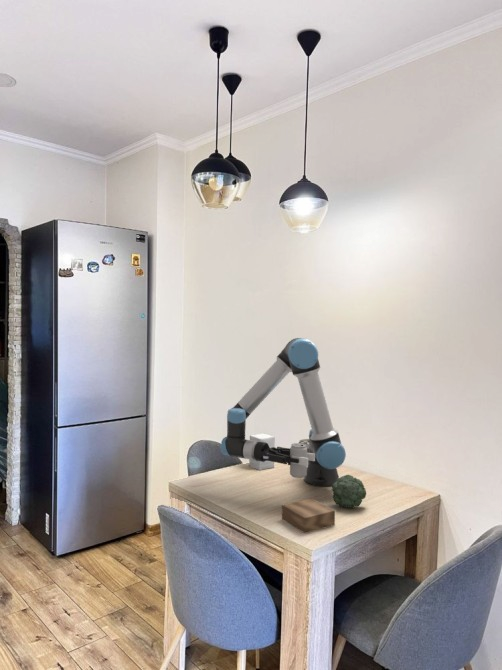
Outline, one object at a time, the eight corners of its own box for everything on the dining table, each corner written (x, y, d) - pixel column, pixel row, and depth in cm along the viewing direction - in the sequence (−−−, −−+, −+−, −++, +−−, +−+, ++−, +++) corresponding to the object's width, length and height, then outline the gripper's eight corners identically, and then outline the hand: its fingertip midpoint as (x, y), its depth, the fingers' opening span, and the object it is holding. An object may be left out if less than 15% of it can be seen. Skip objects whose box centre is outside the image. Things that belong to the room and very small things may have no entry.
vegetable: (368, 493, 190) (373, 488, 176) (347, 518, 187) (351, 515, 173) (344, 472, 194) (347, 465, 180) (323, 496, 191) (325, 491, 177)
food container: (296, 457, 248) (297, 438, 247) (308, 457, 247) (309, 438, 247) (298, 464, 235) (298, 444, 235) (311, 464, 235) (311, 444, 235)
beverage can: (305, 479, 179) (306, 447, 179) (288, 477, 180) (289, 446, 180) (307, 474, 185) (308, 443, 185) (290, 472, 186) (291, 442, 186)
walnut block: (310, 512, 176) (311, 498, 175) (334, 525, 165) (334, 510, 164) (281, 519, 169) (282, 505, 169) (304, 533, 158) (305, 518, 158)
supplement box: (274, 467, 229) (275, 436, 229) (259, 470, 224) (260, 438, 224) (263, 463, 237) (264, 432, 236) (248, 465, 232) (249, 435, 231)
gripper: (267, 454, 200) (319, 463, 189) (245, 466, 183) (301, 476, 172) (267, 436, 199) (320, 444, 188) (245, 446, 183) (301, 455, 172)
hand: (311, 459), depth 180 cm, fingers closed on beverage can, 6 cm apart
